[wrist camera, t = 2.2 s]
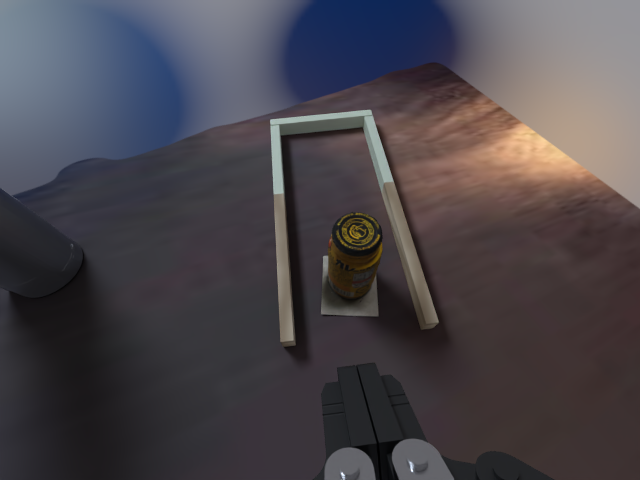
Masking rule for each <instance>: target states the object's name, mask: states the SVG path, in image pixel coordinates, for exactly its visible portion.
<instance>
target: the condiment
mask: <svg viewBox="0 0 640 480" xmlns="http://www.w3.org/2000/svg"><path fill="white" fill-rule="evenodd" d="M382 238H383V237H382V229H381V226H380V225H379V224H378V222H377V220H376V219H375V218H373V217H371V216H370V215H367V214H365V213H353V212H352V213H349V214H346V215H344V216H342V217H341V218H339V219H338V220H337V221H336V223H335V224H334V226H333V230H332V236H331V238H330V240H329V244H328V256H323V280H322V303H321V314H328V315H348V316H379V315H378V299H377V282H376V271H377V268H378V265H379V263H380V258H381V254H382ZM331 292H332V293H331ZM362 298H363V299H362ZM360 300H362V301H361V302H360Z"/></svg>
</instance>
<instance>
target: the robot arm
mask: <svg viewBox="0 0 640 480" xmlns="http://www.w3.org/2000/svg"><path fill="white" fill-rule="evenodd" d="M82 260H83V252H82V249H81V247H80V246H79V245H78V244H77V243H76V242H74V241H73V240H72V239H70V238H69V237H67V236H66V235H65V234H63V233H62V232H61V231H59V230H58V229H57V228H55V227H54V226H52V225H51V224H50V223H48V222H47V221H46V220H44V219H43V218H41V217H40V216H39V215H37V214H36V213H35V212H33V211H32V210H30V209H29V208H28V207H26V206H25V205H24V204H22V203H21V202H19V201H18V200H17V199H15V198H14V197H13V196H11V195H10V194H8V193H7V192H5V191H4V190H3V189H2V188H0V288H2V289H5V290H7V291H12V292H15V293H17V294H20V295H22V296H25V297H30V298H36V297H42V296H46V295H49V294H51V293H53V292H55V291H57V290H59V289H60V288H62V287H63V286H65V285H66V284H67V283H68V282H69V281H70V280H71V279H72V278H73V277H74V276H75V275H76V273H77V272H78V270H79V268H80V266H81V264H82ZM337 372H338V381H339V382H332V383H326V384H325V386H324V388H323V391H322V393H321V397H322V409H323V421H324V433H325V445H326V461H325V464H324V467H323V469H322V470H321V472H320V473H319V474H318V475H317V476H316V477H315V478H314V479H313V480H554V479H552V478H550V477H549V476H547V475H545V474H543V473H541V472H540V471H538V470H536V469H534V468H533V467H531V466H529V465H527V464H525V463H524V462H522V461H520V460H518V459H516V458H515V457H513V456H511V455H508V454H506V453H502V452H496V451H490V452H486V453H483V454H482V455H480V456H479V457H478V459H477V461H476V464H471V463H466V462H460V461H455V460H451V459H448V458H446V457H444V456H442V455H441V454H439V452H438V451H437V450H436V449H435V448H434V447H433V446H432V445H431V444H429V443H428V442H427V440H426V438H425V436H424V434H423V431H422V429H421V427H420V425H419V423H418V421H417V418H416V416H415V414H414V412H413V410H412V407H411V405H410V404H409V401H408V399H407V397H406V395H405V392H404V390H403V388H402V386H401V384H400V382H399V381H397V380H396V379H395V378H394V377H393V376H392V375H384V376H380V374H379V372H378V369H377V366H376V364H375V363H368V364H360V365H356V366H355V365H353V366H346V367H338V368H337Z"/></svg>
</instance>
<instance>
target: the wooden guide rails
mask: <svg viewBox="0 0 640 480" xmlns="http://www.w3.org/2000/svg"><path fill="white" fill-rule="evenodd" d="M382 196H383V199H384V203H385V206H386V210H387V213H388V217H389V220H390V224H391V227H392V231H393V234H394V238H395V241H396V245H397V248H398V252H399V255H400V259H401V262H402V266H403V269H404V273H405V276H406V280H407V283H408V287H409V290H410V294H411V297H412V301H413V304H414V307H415V311H416V314H417V318H418V321H419V325H420V328H421V330H423V329H431V328H434V327H435V326H436V325H437V324H438V323H439V321H438V318H437V315H436V312H435V309H434V305H433V302H432V299H431V296H430V293H429V290H428V287H427V284H426V281H425V277H424V274H423V271H422V268H421V265H420V262H419V259H418V256H417V253H416V249H415V246H414V243H413V240H412V237H411V234H410V231H409V228H408V225H407V221H406V218H405V215H404V212H403V209H402V206H401V203H400V200H399V197H398V194H397V190H396V187H395V184H394V182H385V183H384V185H383V190H382ZM274 209H275V231H276V253H277V274H278V296H279V318H280V339H281V343H282V345H283V347H287V346H295V345H296V341H295V327H294V313H293V299H292V285H291V271H290V257H289V243H288V229H287V215H286V203H285V198H284V193H282V194H274Z"/></svg>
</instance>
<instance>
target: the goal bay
mask: <svg viewBox="0 0 640 480" xmlns="http://www.w3.org/2000/svg"><path fill="white" fill-rule="evenodd" d="M270 123H271V144H272V166H273V188H274V194H282V193H284V198H285V187H284V173H283V159H282V145H281V135H290V134H300V133H310V132H320V131H330V130H340V129H350V128H360V127H363V130H364V133H365V137H366V140H367V144H368V147H369V151H370V154H371V157H372V161H373V164H374V168H375V171H376V175H377V178H378V182H379V185H380V189H381V192H382V190H383V185H384V183H385V182H394V181H393V178H392V175H391V172H390V169H389V166H388V162H387V159H386V156H385V153H384V150H383V147H382V144H381V141H380V138H379V134H378V131H377V128H376V125H375V122H374V119H373V116H372V113H371V110H363V111H353V112H343V113H332V114H322V115H312V116H302V117H292V118H282V119H271V120H270ZM285 203H286V201H285Z"/></svg>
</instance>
